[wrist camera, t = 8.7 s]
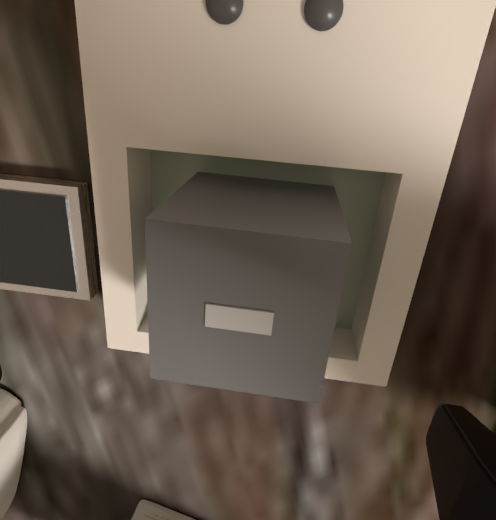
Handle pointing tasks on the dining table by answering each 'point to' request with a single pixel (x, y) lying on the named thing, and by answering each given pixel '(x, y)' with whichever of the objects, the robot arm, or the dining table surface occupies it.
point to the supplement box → (156, 512)
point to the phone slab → (46, 237)
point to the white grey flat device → (280, 133)
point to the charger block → (245, 284)
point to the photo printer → (10, 446)
